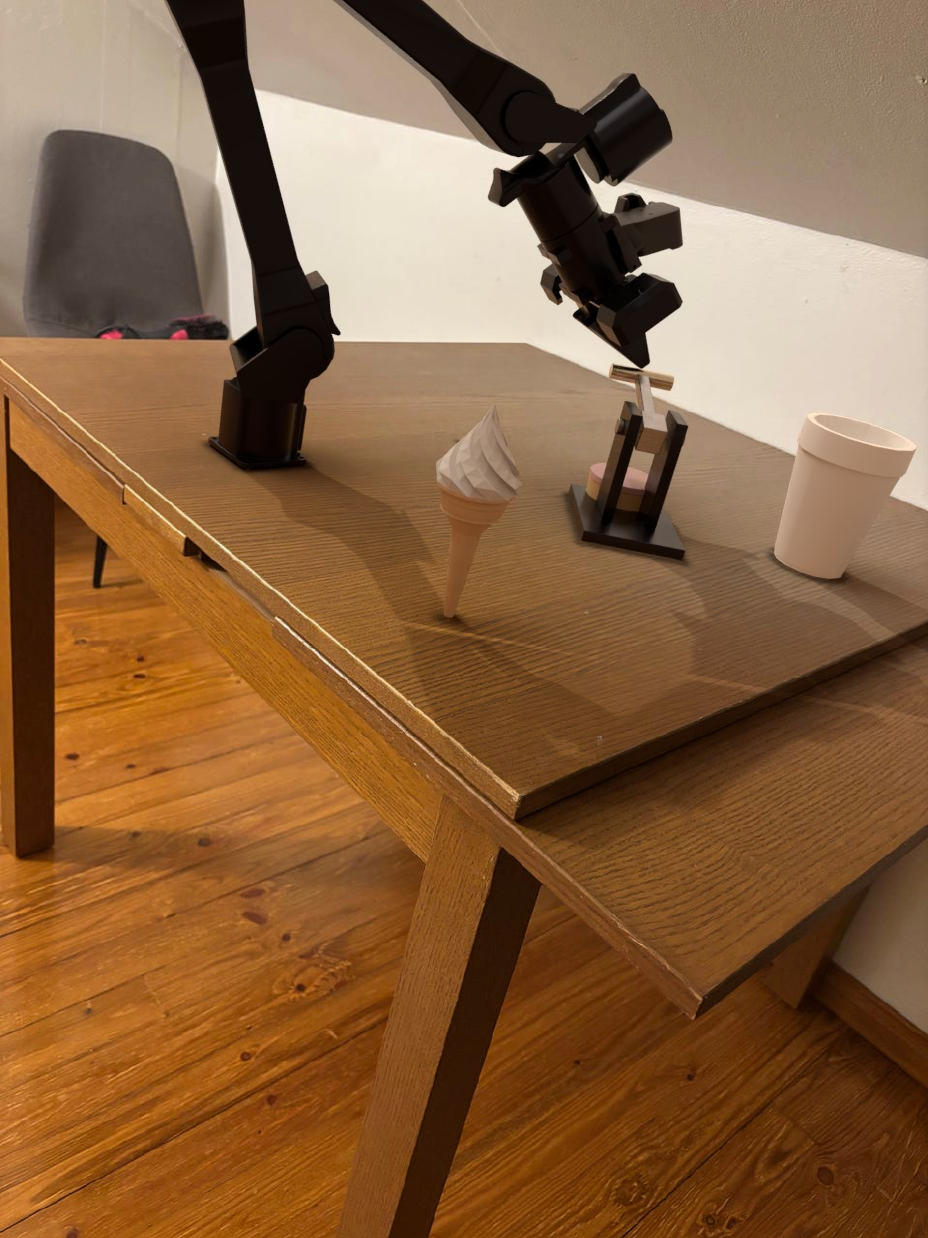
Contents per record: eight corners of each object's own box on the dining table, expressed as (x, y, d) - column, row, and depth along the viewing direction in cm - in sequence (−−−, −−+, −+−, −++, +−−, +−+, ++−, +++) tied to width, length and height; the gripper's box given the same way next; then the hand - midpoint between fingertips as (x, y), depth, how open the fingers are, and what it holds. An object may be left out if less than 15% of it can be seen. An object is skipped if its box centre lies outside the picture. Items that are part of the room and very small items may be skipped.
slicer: (567, 494, 95) (597, 384, 90) (657, 512, 95) (692, 404, 91) (580, 543, 84) (615, 421, 79) (681, 563, 85) (721, 444, 80)
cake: (618, 527, 90) (629, 492, 88) (567, 498, 94) (576, 465, 92) (662, 519, 94) (673, 486, 92) (611, 493, 98) (621, 460, 96)
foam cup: (752, 565, 88) (804, 426, 82) (759, 534, 96) (808, 405, 90) (859, 599, 86) (921, 459, 80) (857, 565, 94) (913, 435, 88)
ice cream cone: (459, 648, 63) (512, 424, 56) (389, 614, 65) (432, 394, 59) (502, 622, 68) (555, 411, 61) (435, 591, 70) (479, 384, 63)
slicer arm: (606, 377, 94) (614, 355, 93) (666, 390, 95) (675, 368, 93) (613, 446, 85) (622, 422, 84) (680, 459, 86) (689, 436, 84)
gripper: (697, 174, 76) (768, 338, 84) (602, 150, 91) (671, 291, 100) (578, 263, 76) (660, 416, 85) (505, 224, 92) (580, 357, 101)
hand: (644, 365), depth 93 cm, fingers closed
